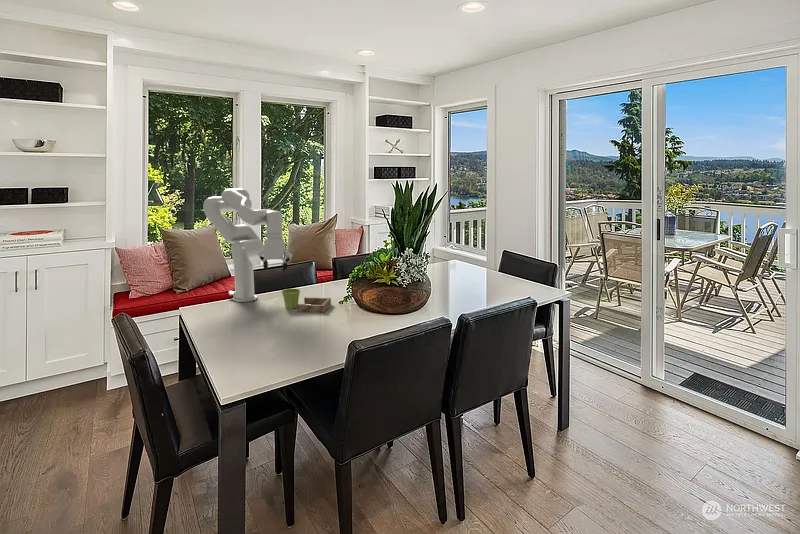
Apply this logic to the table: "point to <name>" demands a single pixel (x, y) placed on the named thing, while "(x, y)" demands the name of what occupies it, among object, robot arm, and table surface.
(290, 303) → the plant pot
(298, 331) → the table surface
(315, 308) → the walnut collar
